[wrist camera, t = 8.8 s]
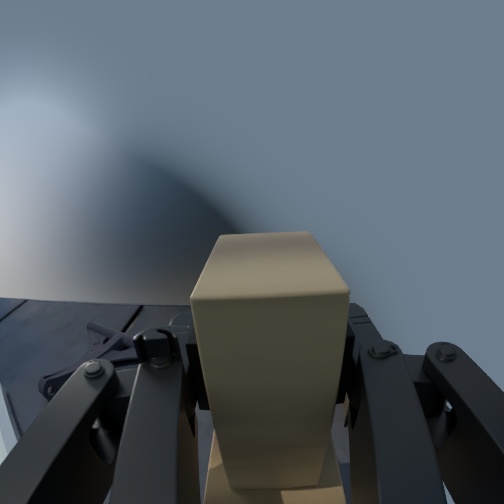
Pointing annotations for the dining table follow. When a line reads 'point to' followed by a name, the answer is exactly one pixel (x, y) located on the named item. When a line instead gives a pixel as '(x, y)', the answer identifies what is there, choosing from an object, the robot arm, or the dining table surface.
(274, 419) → the eraser
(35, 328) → the dining table surface
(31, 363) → the dining table surface
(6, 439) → the board
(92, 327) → the bracket
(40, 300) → the dining table surface
